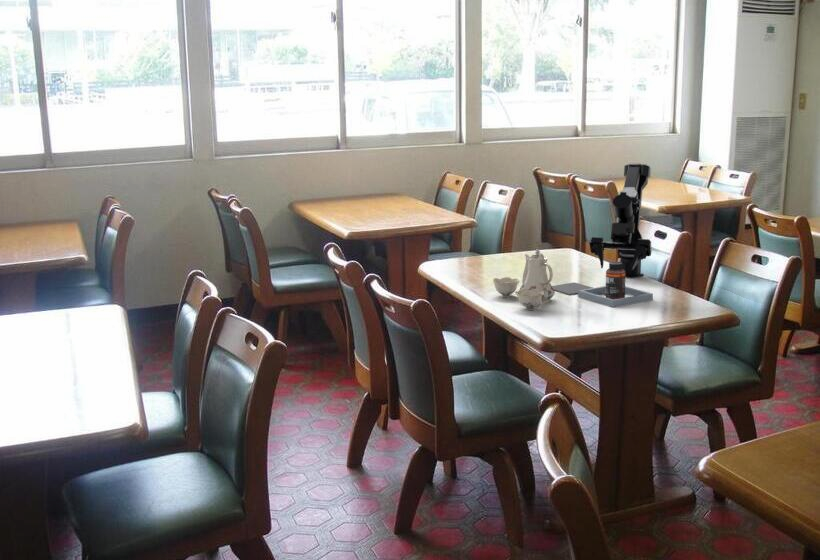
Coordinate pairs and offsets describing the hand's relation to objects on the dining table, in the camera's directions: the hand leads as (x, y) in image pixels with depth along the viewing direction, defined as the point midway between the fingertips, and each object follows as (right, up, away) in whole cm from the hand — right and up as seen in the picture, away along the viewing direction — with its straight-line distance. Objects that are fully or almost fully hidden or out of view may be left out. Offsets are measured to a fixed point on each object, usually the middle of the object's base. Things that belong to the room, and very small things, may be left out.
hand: (616, 268), depth 277 cm
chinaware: (-28, -10, -1) cm, 30 cm away
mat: (-11, -7, +14) cm, 19 cm away
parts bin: (0, -9, 0) cm, 9 cm away
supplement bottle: (0, -10, +1) cm, 10 cm away
